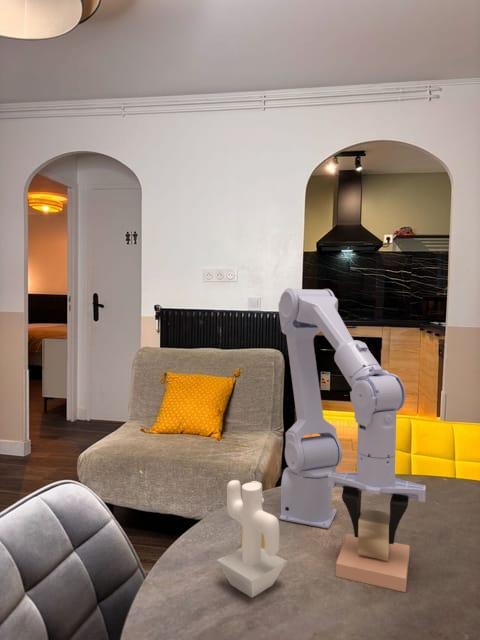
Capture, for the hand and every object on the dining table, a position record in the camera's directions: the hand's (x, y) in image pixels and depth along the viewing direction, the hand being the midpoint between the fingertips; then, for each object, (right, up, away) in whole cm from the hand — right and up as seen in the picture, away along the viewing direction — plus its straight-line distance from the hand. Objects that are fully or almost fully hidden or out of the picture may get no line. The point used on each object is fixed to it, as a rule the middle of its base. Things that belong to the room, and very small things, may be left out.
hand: (374, 537), depth 74 cm
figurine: (-19, -5, -5) cm, 21 cm away
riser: (0, -5, 0) cm, 5 cm away
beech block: (0, -2, +1) cm, 2 cm away
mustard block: (-20, -2, +6) cm, 21 cm away
